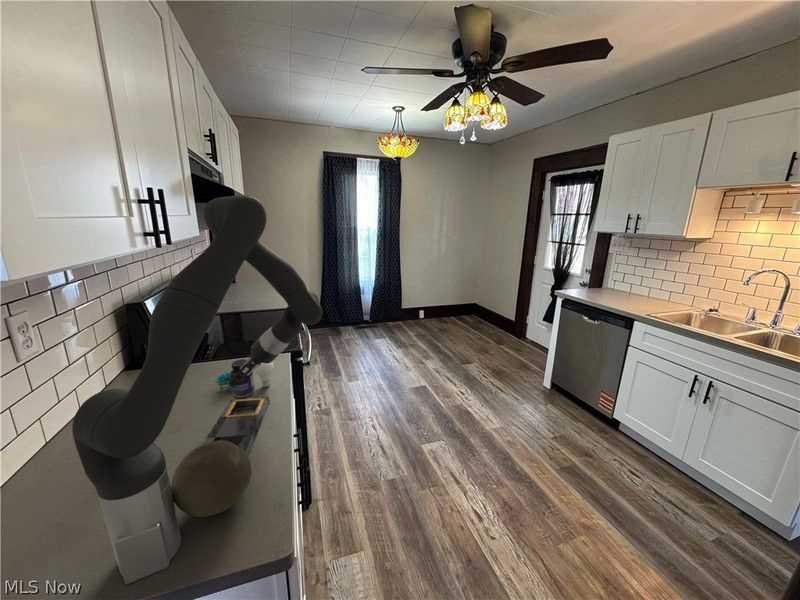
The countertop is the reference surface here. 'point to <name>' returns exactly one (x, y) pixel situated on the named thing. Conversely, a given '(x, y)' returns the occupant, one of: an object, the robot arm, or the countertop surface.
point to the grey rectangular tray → (239, 423)
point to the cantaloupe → (211, 478)
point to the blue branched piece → (223, 380)
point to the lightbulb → (265, 373)
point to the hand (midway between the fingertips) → (236, 379)
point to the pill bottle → (242, 382)
